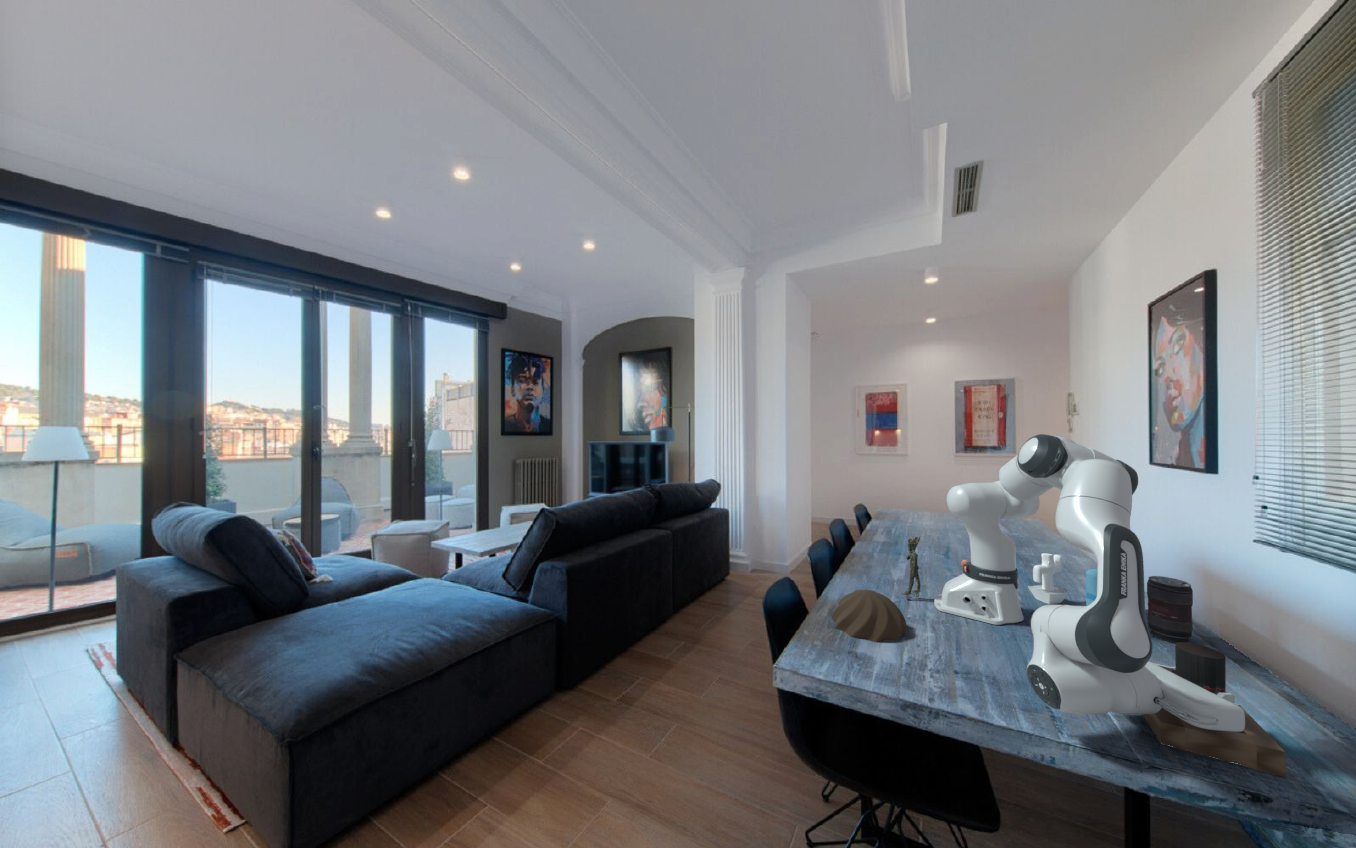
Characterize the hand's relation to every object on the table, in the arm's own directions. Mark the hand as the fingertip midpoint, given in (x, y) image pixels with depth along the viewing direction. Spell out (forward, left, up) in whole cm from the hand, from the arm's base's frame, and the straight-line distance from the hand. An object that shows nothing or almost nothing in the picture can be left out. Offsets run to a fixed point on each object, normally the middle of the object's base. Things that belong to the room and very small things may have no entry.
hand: (1204, 684), depth 81 cm
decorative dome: (-60, +16, -10) cm, 63 cm away
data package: (0, +63, -9) cm, 64 cm away
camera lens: (+8, +48, -9) cm, 50 cm away
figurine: (-15, +63, -9) cm, 66 cm away
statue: (-52, +43, -9) cm, 68 cm away
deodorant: (-1, 0, -9) cm, 9 cm away
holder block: (-1, -1, -9) cm, 9 cm away
